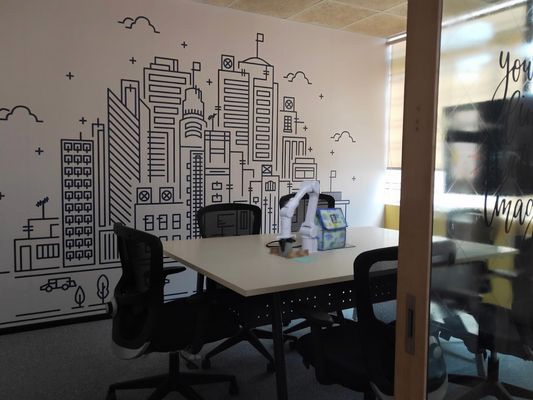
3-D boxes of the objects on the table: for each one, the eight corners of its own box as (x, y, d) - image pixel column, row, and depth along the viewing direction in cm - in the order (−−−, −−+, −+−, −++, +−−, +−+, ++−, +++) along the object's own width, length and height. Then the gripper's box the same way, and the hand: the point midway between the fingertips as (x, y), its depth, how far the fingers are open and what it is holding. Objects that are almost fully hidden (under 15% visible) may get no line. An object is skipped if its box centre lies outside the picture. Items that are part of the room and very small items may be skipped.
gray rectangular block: (283, 254, 262) (283, 241, 261) (292, 257, 256) (292, 243, 255) (278, 255, 260) (278, 241, 259) (287, 257, 253) (287, 243, 253)
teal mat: (307, 257, 255) (307, 256, 255) (318, 260, 248) (318, 259, 248) (291, 260, 247) (291, 259, 247) (302, 263, 240) (302, 262, 240)
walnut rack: (290, 251, 271) (290, 245, 270) (308, 256, 258) (308, 249, 258) (270, 254, 261) (270, 247, 260) (288, 259, 248) (288, 252, 248)
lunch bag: (325, 252, 272) (326, 210, 270) (306, 247, 285) (307, 207, 283) (348, 248, 286) (350, 208, 284) (329, 244, 299) (331, 206, 297)
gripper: (290, 226, 264) (290, 248, 265) (272, 228, 255) (271, 251, 256) (298, 227, 258) (298, 250, 260) (280, 229, 249) (279, 253, 250)
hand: (285, 251), depth 257 cm, fingers closed on gray rectangular block, 3 cm apart
